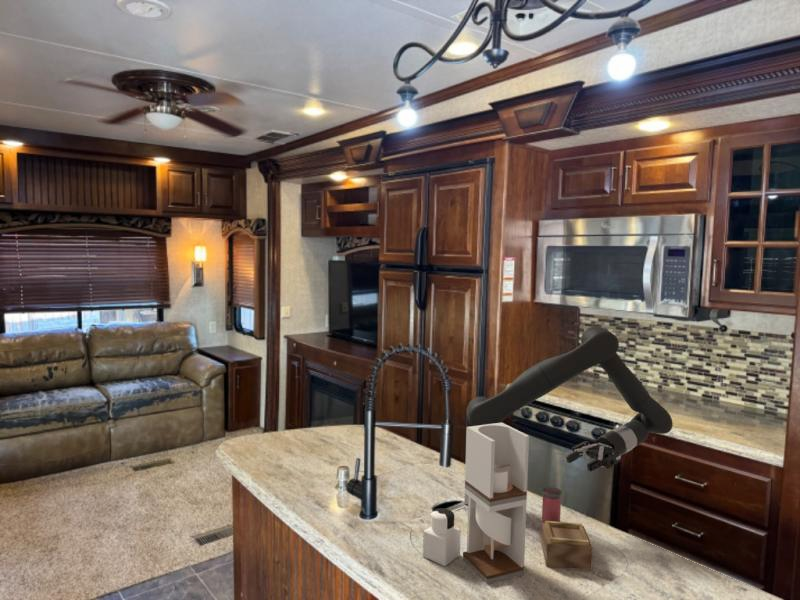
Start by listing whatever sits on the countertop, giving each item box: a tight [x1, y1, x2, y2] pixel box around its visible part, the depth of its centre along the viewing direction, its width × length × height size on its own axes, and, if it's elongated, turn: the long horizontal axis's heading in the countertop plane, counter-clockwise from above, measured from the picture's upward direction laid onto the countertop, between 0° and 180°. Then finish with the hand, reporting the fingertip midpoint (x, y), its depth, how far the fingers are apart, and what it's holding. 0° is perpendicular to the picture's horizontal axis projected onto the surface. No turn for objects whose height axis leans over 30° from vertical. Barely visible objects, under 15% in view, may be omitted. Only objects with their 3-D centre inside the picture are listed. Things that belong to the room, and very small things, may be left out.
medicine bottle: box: [422, 507, 462, 567], centre depth 144 cm, size 7×7×12 cm
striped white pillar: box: [462, 422, 530, 585], centre depth 138 cm, size 11×11×35 cm
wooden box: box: [540, 521, 593, 571], centre depth 145 cm, size 11×11×7 cm
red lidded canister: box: [541, 486, 563, 532], centre depth 158 cm, size 5×5×12 cm
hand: (577, 464), depth 160 cm, fingers open, 8 cm apart
